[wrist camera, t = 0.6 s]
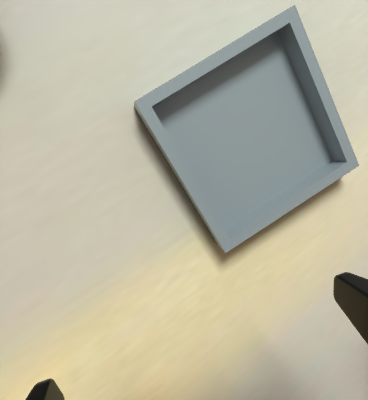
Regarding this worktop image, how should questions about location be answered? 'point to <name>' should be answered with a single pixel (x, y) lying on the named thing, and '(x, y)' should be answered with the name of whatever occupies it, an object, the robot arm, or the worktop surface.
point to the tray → (250, 130)
